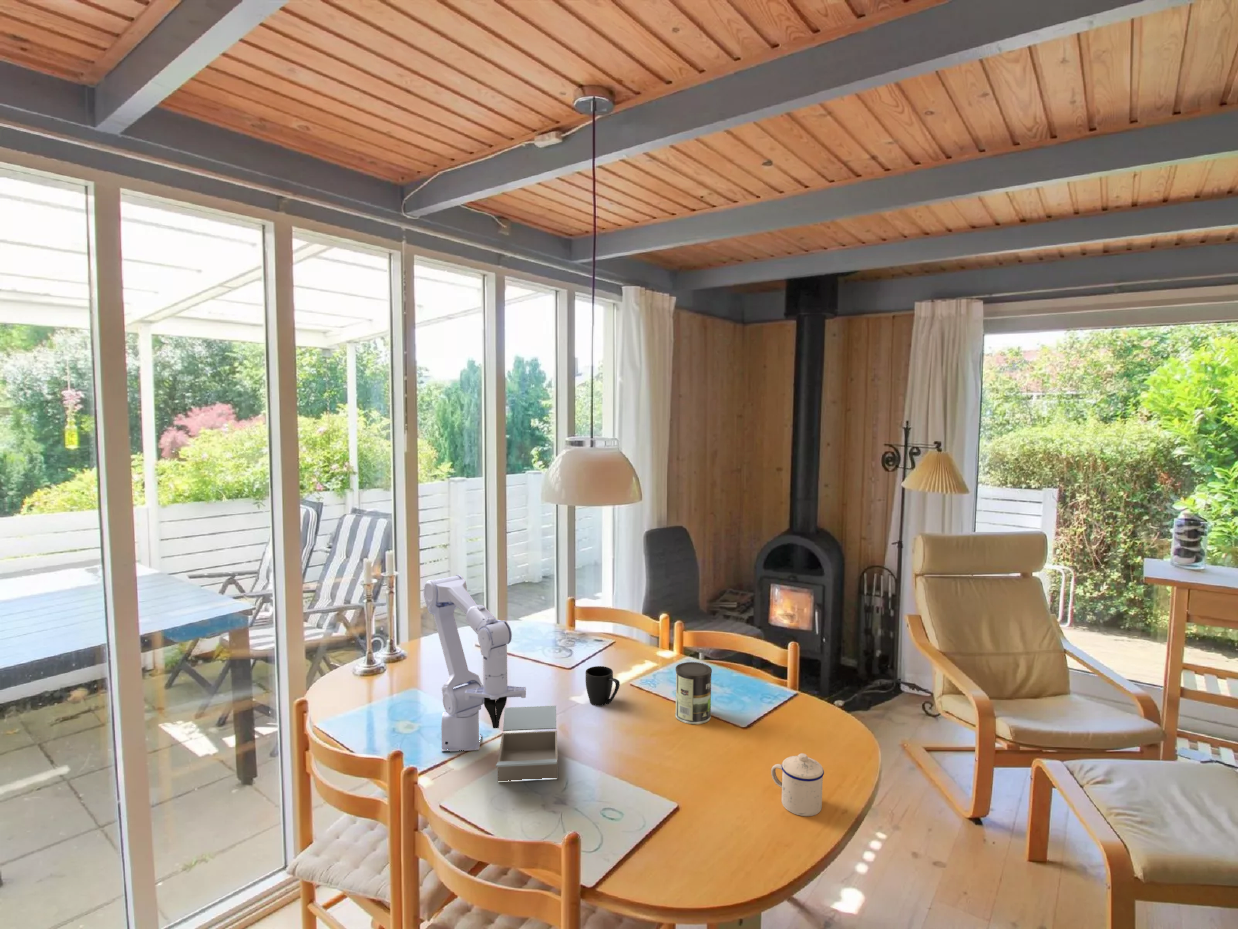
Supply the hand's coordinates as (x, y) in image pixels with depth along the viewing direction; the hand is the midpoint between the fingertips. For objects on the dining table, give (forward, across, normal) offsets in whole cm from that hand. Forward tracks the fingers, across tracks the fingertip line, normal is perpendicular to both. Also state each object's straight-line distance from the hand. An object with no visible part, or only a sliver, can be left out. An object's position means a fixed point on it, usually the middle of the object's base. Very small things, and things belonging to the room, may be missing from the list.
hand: (496, 726), depth 159 cm
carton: (+10, +8, 0) cm, 13 cm away
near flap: (+4, +8, -11) cm, 14 cm away
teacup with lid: (+11, +68, -21) cm, 72 cm away
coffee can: (+11, +54, +22) cm, 59 cm away
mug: (+11, +29, +32) cm, 44 cm away
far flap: (+3, +8, +11) cm, 14 cm away
